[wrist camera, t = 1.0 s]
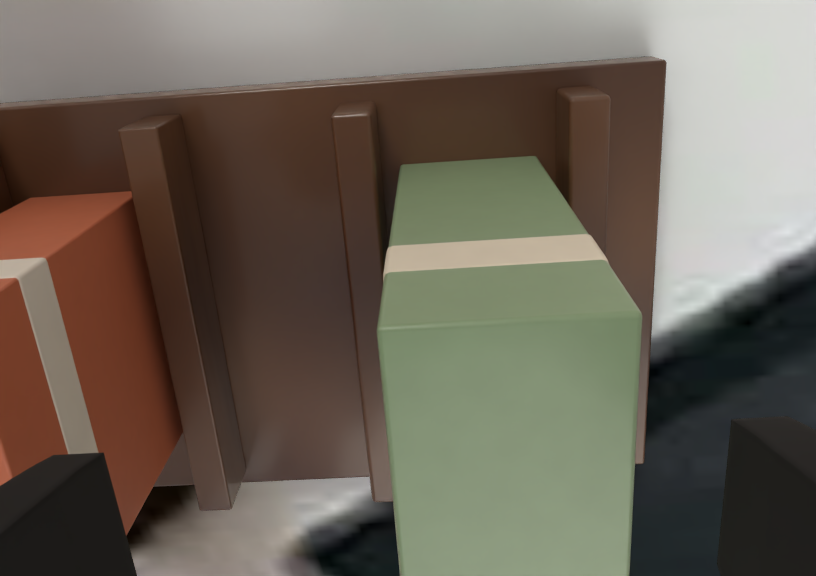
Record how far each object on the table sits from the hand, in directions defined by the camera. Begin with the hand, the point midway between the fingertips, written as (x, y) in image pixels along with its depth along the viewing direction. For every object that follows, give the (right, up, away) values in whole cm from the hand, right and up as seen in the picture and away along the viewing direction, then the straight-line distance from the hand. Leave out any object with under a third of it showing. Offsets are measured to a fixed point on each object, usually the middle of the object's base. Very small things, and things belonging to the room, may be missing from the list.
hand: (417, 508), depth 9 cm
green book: (+1, +2, +9) cm, 9 cm away
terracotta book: (-7, +2, +9) cm, 12 cm away
